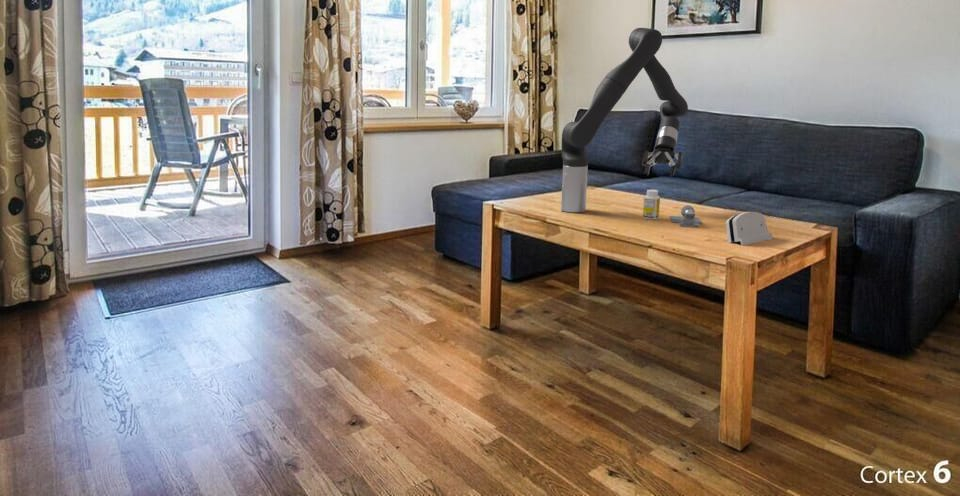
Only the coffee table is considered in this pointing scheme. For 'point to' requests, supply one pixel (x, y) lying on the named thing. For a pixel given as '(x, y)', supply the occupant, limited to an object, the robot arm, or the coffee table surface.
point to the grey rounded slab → (747, 228)
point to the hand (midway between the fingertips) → (658, 175)
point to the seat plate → (681, 219)
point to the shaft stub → (688, 217)
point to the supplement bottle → (651, 205)
